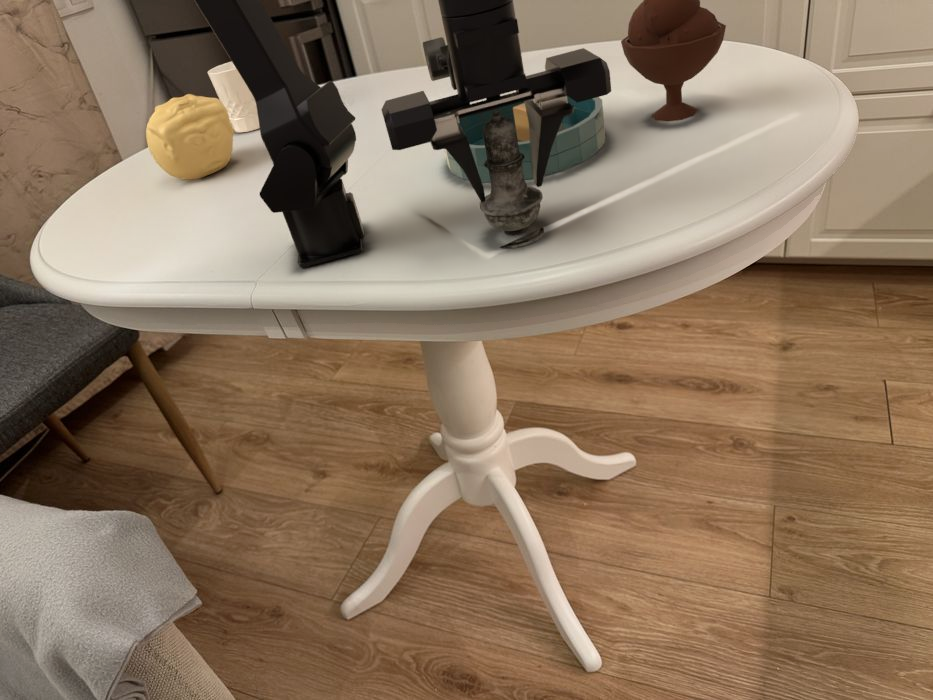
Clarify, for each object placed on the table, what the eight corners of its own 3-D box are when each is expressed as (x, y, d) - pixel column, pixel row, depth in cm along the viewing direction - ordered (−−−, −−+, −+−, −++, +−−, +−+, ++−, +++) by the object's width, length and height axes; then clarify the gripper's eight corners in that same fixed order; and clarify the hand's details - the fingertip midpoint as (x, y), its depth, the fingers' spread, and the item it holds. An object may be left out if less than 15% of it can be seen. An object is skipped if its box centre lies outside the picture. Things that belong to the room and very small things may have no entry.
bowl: (463, 202, 74) (455, 162, 71) (439, 149, 89) (431, 115, 87) (629, 158, 75) (627, 117, 72) (577, 113, 90) (573, 78, 87)
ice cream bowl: (744, 113, 79) (749, -34, 70) (660, 143, 76) (654, -5, 68) (687, 96, 87) (684, -37, 79) (609, 122, 85) (599, -12, 76)
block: (536, 146, 82) (531, 112, 79) (517, 140, 85) (512, 107, 82) (563, 135, 83) (559, 101, 81) (544, 129, 86) (539, 96, 84)
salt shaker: (477, 233, 67) (451, 110, 60) (531, 214, 68) (512, 91, 61) (500, 256, 62) (475, 125, 56) (558, 235, 64) (541, 105, 57)
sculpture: (188, 192, 96) (152, 115, 90) (152, 181, 104) (118, 109, 98) (256, 160, 102) (228, 85, 96) (218, 151, 110) (189, 82, 104)
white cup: (223, 136, 117) (198, 76, 111) (245, 120, 123) (222, 62, 117) (263, 131, 114) (239, 69, 109) (283, 115, 120) (262, 55, 115)
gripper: (562, -31, 61) (581, 140, 70) (357, 22, 60) (403, 188, 69) (604, -19, 52) (620, 177, 61) (363, 45, 51) (415, 233, 60)
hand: (510, 192), depth 63 cm, fingers closed on salt shaker, 5 cm apart
